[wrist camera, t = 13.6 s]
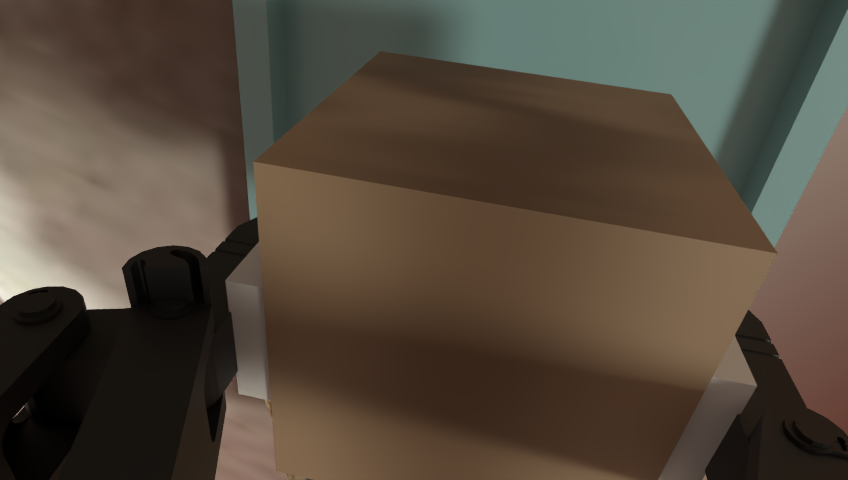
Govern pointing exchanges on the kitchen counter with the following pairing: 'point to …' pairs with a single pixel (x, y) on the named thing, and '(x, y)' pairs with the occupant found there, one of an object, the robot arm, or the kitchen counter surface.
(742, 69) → the tray
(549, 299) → the walnut cube
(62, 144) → the kitchen counter surface
